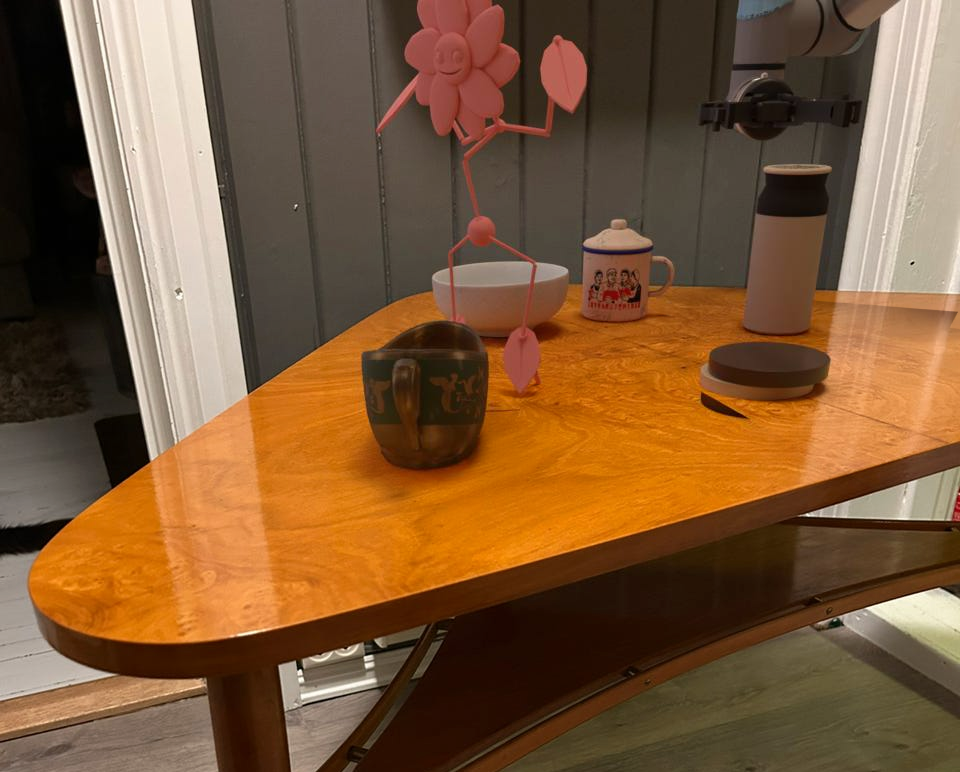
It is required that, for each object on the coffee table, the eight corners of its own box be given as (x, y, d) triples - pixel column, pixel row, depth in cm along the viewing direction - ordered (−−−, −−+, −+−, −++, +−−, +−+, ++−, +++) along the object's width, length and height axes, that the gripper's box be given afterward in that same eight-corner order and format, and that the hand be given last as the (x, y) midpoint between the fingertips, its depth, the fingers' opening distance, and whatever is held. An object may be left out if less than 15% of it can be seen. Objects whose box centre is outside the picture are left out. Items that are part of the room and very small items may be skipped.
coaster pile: (779, 381, 96) (785, 336, 94) (846, 413, 87) (855, 364, 85) (678, 392, 94) (682, 347, 91) (736, 427, 84) (742, 377, 82)
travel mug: (800, 338, 111) (826, 170, 102) (734, 332, 115) (753, 169, 106) (815, 324, 117) (840, 164, 108) (752, 319, 121) (771, 163, 111)
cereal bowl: (513, 310, 129) (512, 255, 125) (595, 331, 117) (597, 271, 113) (409, 329, 120) (405, 271, 116) (486, 354, 108) (485, 290, 105)
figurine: (425, 355, 108) (406, -11, 90) (608, 395, 94) (629, -35, 75) (323, 385, 99) (279, -18, 81) (509, 434, 84) (506, -47, 66)
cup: (295, 467, 78) (279, 344, 73) (434, 404, 92) (429, 297, 87) (420, 497, 72) (412, 364, 66) (549, 425, 86) (550, 310, 81)
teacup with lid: (578, 322, 121) (582, 225, 115) (580, 307, 129) (583, 215, 123) (672, 323, 120) (681, 224, 114) (669, 308, 128) (676, 215, 122)
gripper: (675, 79, 130) (687, 81, 112) (860, 75, 127) (903, 77, 109) (670, 140, 134) (681, 151, 116) (850, 138, 131) (890, 149, 113)
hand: (789, 115), depth 113 cm, fingers open, 13 cm apart
